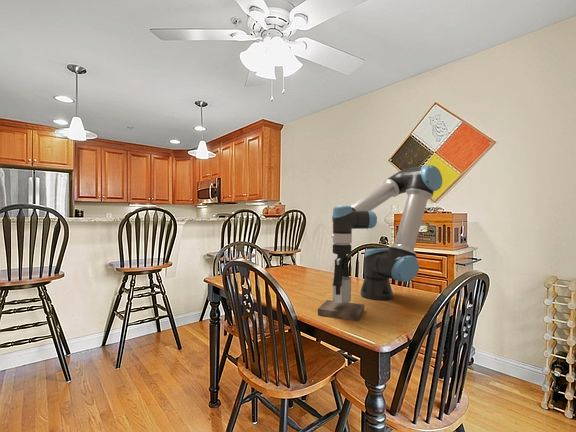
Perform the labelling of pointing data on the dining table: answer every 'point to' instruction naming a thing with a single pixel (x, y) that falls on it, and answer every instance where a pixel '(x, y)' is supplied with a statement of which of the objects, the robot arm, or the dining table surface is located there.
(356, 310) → the board
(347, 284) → the cup
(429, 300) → the dining table surface
